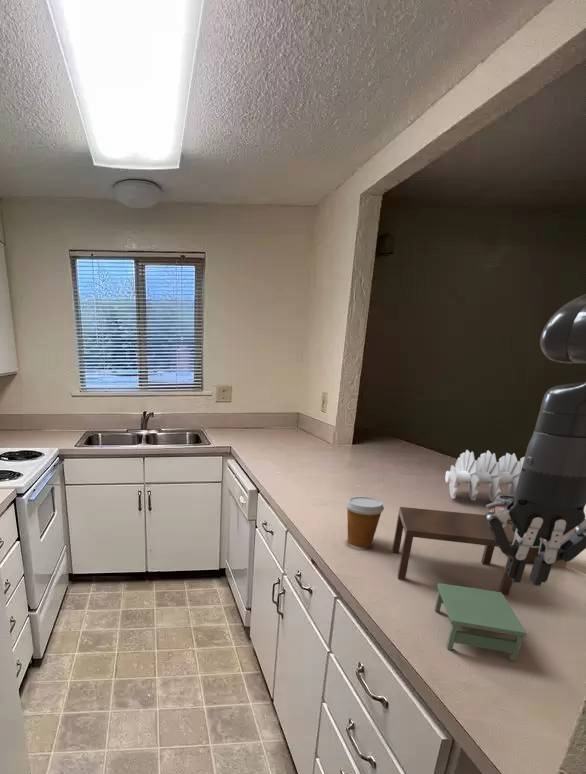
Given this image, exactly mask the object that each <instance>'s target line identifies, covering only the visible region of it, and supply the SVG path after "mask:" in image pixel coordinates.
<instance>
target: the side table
mask: <svg viewBox="0 0 586 774" xmlns="http://www.w3.org/2000/svg"><path fill="white" fill-rule="evenodd" d="M485 515H486V514H479V513H469V512H468V513H467V512H459V511H458V512H457V511H447V510H437V509H427V508H418V507H417V508H416V507H405V506H399V508H398V514H397V519H396V523H395V531H394V536H393V542H392V547H391V553H392V554H400V550H401V554H400V560H399V566H398V570H397V579H398V580H403V581H405V580H406V577H407V572H408V567H409V561H410V556H411V552H412V547H413V540H414V538H418V539H426V540H435V541H445V542H453V543H461V544H462V543H463V544H469V545H478V546H479V545H480V546H484V549H483V553H482V557H481V564H482V565H484V566H485V565H486V566H490V565H491V562H492V558H493V554H494V552H495V551H494V550H495V548H499V547H498V546H497V544H496V541H495V539H494V537H493V534H492V532H491V530H490V527H489V525H488V523H487V520H486V518H485ZM503 529H504V532H505V534H506V536H507V539H508V541H509V543H510V544H512V543H513V540H514V532H513V530H512V529H511V528H510V527H509V526H508V525H507V526H506V527H504V528H503ZM403 532H404V538H403ZM402 539H403V543H402ZM401 543H402V549H400V548H401ZM509 559H510V555H509V557H508V556H507V560H506V564H505V567H504V571H503V574H502V578H501V581H500V586H499V589H498V592H502V594H503V595H507V596H509V595H510V592H511V589H512V585H513V583H514V582H513V581H512V580H511V578H510V577H509V576H508V574H507V571H506V569H507V566H508V562H509Z"/></svg>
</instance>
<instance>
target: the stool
mask: <svg viewBox="0 0 586 774" xmlns="http://www.w3.org/2000/svg"><path fill="white" fill-rule="evenodd" d="M437 590H438V593H437V597H436V601H435V606H434V612H435V613H440V611H441V608H442V604H443V605H444V609H445V611H446V614H447V617H448V620H449V622H450V626H451V627H450V631H449V635H448V639H447V643H446V649H447V650H450V651H453V649H454V644H458V645H465V646H469V647H477V648H481V649H485V650H486V649H488V650H492V651H499V652H503V653H510V654H509V657H508V658H509V659H508V660H509V661H510V662H517V660H518V655H519V653H520V649H521V646H522V643H523V640H524V637H525V638H526V637H527V634H528V633H527V630H526V629H525V627H524V626H523V625H522V623H521V621H520V619H519V618H518V617H517V615H516V613H515V612H514V610H513V608H512V606H511V605H510V604H509V602H508V600H507V598H506V597H505V594H502V592H500V591H496V590H488V589H481V588H475V587H466V586H460V585H453V584H446V583H440V582H438V583H437ZM459 626H460V627H465V628H472V629H477V630H481V631H482V630H483V631H489V632H495V633H501V634H506V635H507V634H508V635H512V636H515V638H514V639H510V638H504V637H498V636H492V635H487V634H481V633H476V632H471V631H464V630H458V629H459Z"/></svg>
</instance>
